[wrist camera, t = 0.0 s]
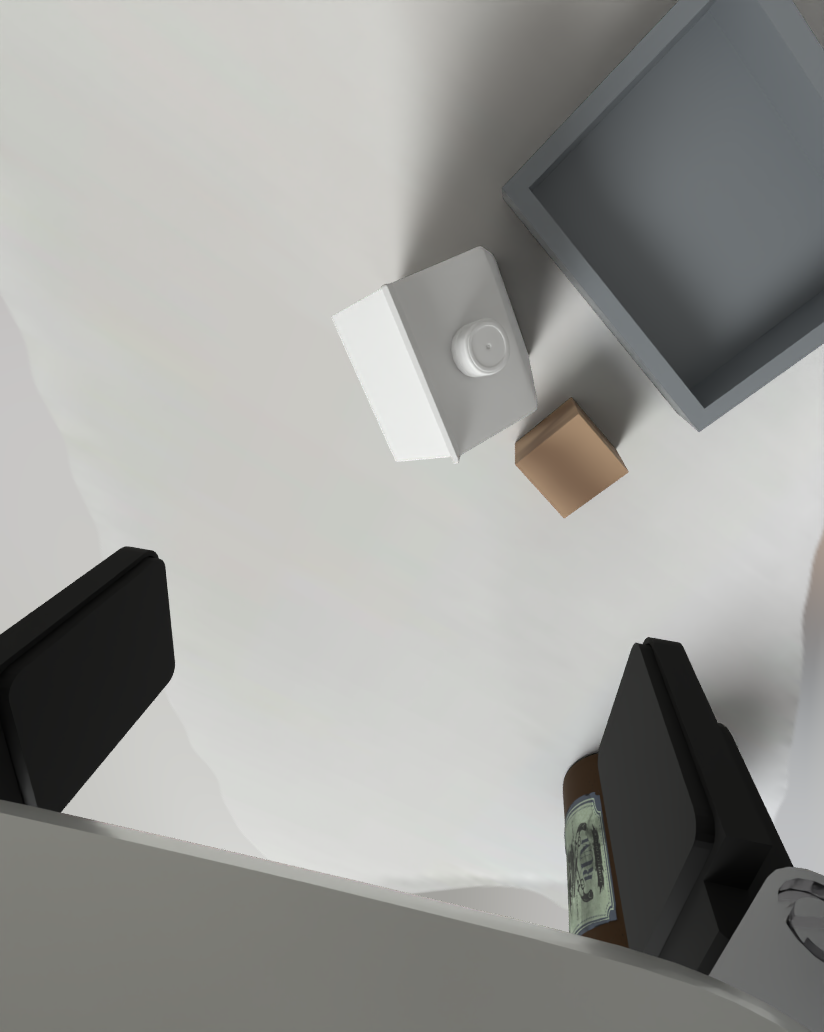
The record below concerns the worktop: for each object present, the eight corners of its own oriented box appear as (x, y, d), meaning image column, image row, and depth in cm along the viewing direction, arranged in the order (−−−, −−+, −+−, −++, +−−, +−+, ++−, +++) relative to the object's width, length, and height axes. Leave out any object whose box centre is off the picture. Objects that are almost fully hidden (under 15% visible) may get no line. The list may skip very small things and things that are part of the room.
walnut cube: (571, 396, 39) (578, 413, 34) (615, 448, 40) (628, 472, 35) (515, 442, 41) (515, 464, 36) (558, 491, 42) (564, 518, 37)
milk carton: (434, 396, 40) (377, 492, 23) (394, 299, 38) (298, 325, 21) (529, 358, 38) (544, 432, 21) (493, 253, 36) (477, 239, 19)
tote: (710, -19, 29) (746, -72, 25) (891, 253, 32) (952, 251, 28) (503, 198, 35) (501, 188, 30) (676, 412, 38) (698, 432, 33)
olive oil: (696, 767, 50) (848, 1181, 27) (644, 840, 54) (738, 1247, 32) (581, 730, 50) (638, 1107, 28) (539, 805, 55) (558, 1182, 32)
